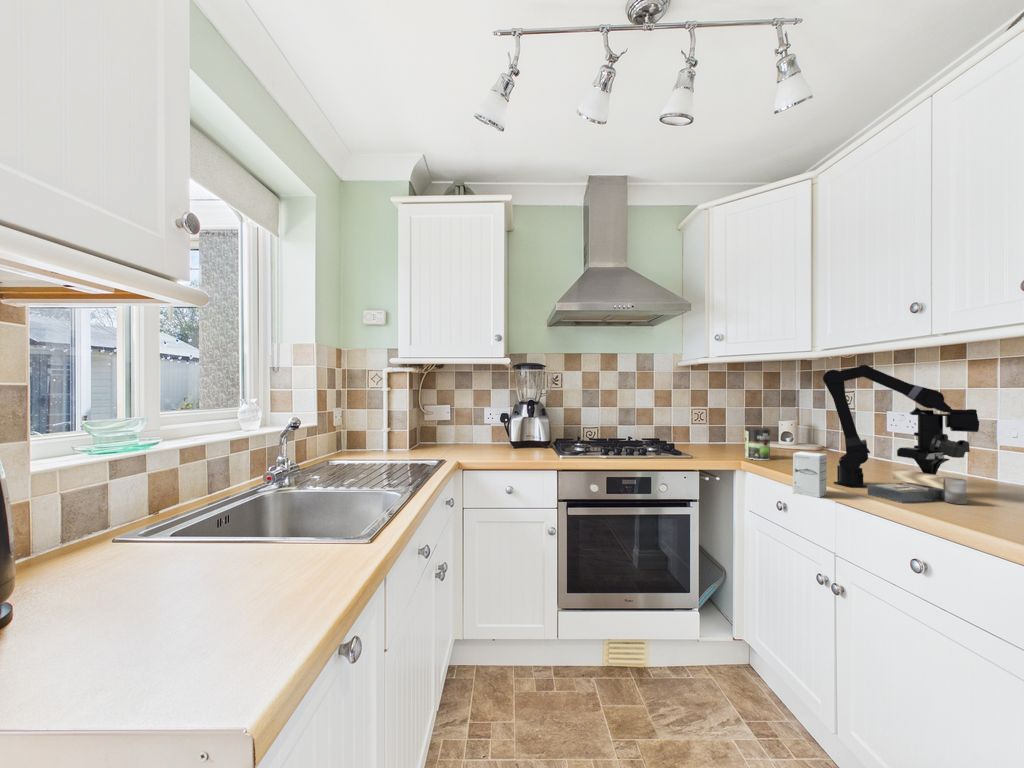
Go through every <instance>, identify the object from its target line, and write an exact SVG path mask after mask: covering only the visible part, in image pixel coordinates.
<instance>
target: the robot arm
mask: <svg viewBox="0 0 1024 768" xmlns="http://www.w3.org/2000/svg"><path fill="white" fill-rule="evenodd" d="M860 378H865V379H867V380H869V381H872V382H873V383H877V384H878V385H881V386H884V387H886V388H888V389H890V390H893V391H895V392H898V393H900V394H902V395H903V396H905V397H906V398H908V399H910V400H912V401H913V402H914V403H916V404H918V405H919V406H921V407H923V408H927V409H920V408H919V407H915V408H914V409H913V410H912V411H910V412H909V415H911V416H917V432H913V436H915V437H917V445H916V444H915V445H914V446H913V447H908V446H906V447H905V446H904V447H899V448H898V449H896V457H901V458H907V459H912V460H914V461H915V462H916V465H918V467H919V468H920V470H921V471H922V472H923V473H929V474H935V475H937V473H938V471H939V468H940V467H941V465H942V464H943V463H946V462H949V461H950V458H954V459H955V458H958V459H960V458H962V459H963V458H965V454H966V453H970V452H971V449H970V442H969V441H967V440H965V439H962V440H960V439H959V440H957V441H955V440H950V439H949V435H948V434H946V433H944V425H945V428H949V429H950V432H963V433H964V432H965V433H968V432H969V433H978V432H979V430H980V421H979V417H978V414H977V411H978V410H977V409H974V408H973V409H972V408H968V409H952V407H951V406H949V405H948V404H947V402H945V396H944V395H943V393H942V392H940V391H938V390H934V389H933V388H928V387H925V386H920V385H915V384H911V383H909V382H906V381H903V380H902V379H899V378H897V377H894V376H892V375H889V374H887V373H884V372H883V371H880V370H877V369H875V368H872V367H871V366H869V365H868V364H867V365H866V364H861V365H859V366H855V367H852V368H847V369H843V370H842V369H841V370H838V369H830V370H827V371H826V372H825V373H824V374H823V376H822V381H823V383H824V385H825V386H826V388H827V390H828V392H829V393H830V396H831V398H832V399H833V402H834V403H833V404H834V406H835V409H836V413H837V415H838V419H839V422H840V426H841V428H842V432H843V434H844V441H845V442H844V443H845V454H844V455H842V456H840V457H839V458H838V464H837V477H836V478H837V481H833V484H836V485H840V486H844V487H848V488H859V487H867V484H865V483H864V473H863V468H862V467H861V465H862V464H865V463H866V462H867V461H868V460H869V454H871V450H870V449H869V448H868V443H867V439H861V438H860V436H859V434H858V432H857V428H856V424H855V421H854V419H853V416H852V412H851V409H850V405H849V401H848V399H847V396H846V388H845V387H846V386H845V382H847V381H852V380H855V379H860ZM933 409H934V410H937V411H939V412H941V413H935V412H934V410H933ZM945 456H948V457H950V458H945Z"/></svg>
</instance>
